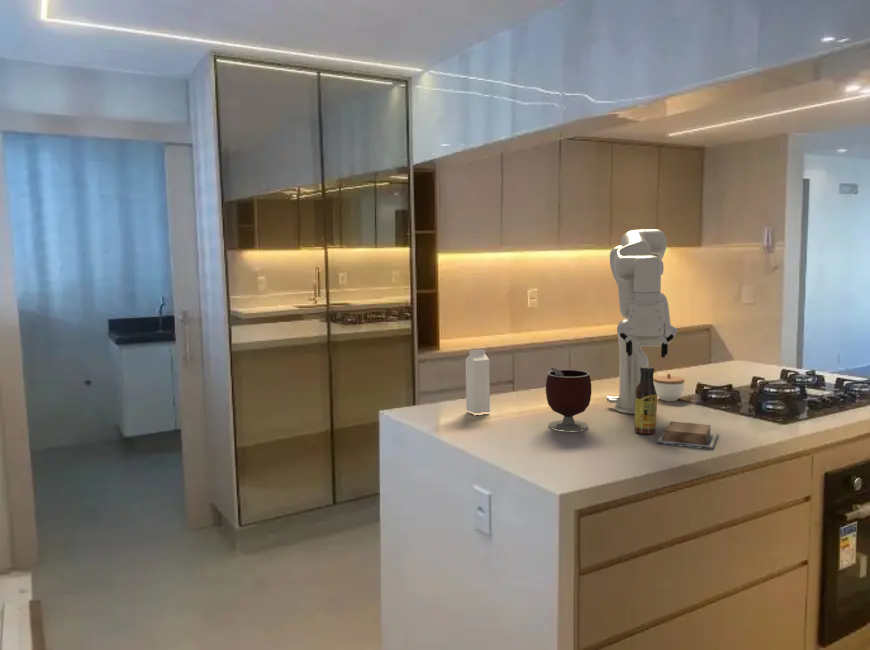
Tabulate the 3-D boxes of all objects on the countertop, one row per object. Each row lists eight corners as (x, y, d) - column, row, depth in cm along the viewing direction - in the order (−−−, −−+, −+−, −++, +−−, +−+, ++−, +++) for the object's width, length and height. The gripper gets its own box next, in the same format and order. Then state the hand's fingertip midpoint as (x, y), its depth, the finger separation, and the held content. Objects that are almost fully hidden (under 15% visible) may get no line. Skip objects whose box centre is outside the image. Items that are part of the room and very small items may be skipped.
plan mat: (655, 443, 193) (656, 431, 192) (664, 430, 206) (665, 419, 205) (712, 449, 186) (713, 436, 185) (718, 436, 199) (718, 424, 198)
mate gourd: (562, 419, 222) (562, 358, 220) (599, 426, 212) (600, 363, 210) (533, 428, 211) (533, 365, 209) (571, 436, 201) (571, 370, 199)
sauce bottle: (644, 436, 200) (645, 369, 198) (629, 431, 206) (630, 366, 204) (661, 433, 203) (662, 367, 201) (645, 428, 209) (646, 364, 207)
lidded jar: (687, 398, 250) (687, 372, 249) (680, 403, 241) (680, 377, 240) (657, 395, 255) (657, 370, 254) (649, 400, 246) (649, 375, 245)
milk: (466, 413, 234) (464, 349, 231) (481, 410, 236) (480, 348, 234) (475, 416, 228) (473, 351, 226) (490, 414, 231) (489, 350, 229)
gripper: (614, 298, 201) (614, 356, 202) (676, 299, 193) (675, 359, 194) (620, 297, 207) (619, 353, 209) (679, 298, 199) (679, 355, 201)
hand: (646, 356), depth 202 cm, fingers open, 9 cm apart
